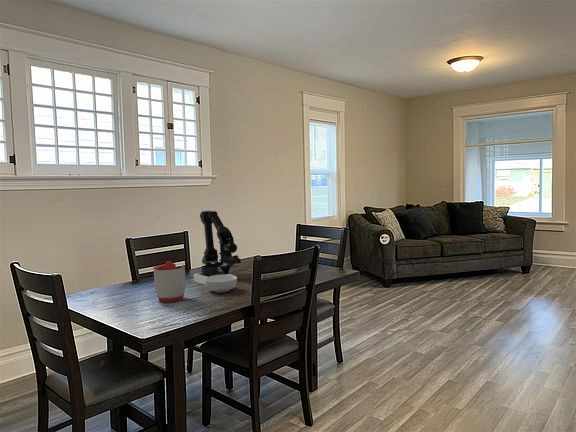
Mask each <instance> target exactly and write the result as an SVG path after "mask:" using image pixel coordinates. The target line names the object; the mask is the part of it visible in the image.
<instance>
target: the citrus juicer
mask: <svg viewBox="0 0 576 432" xmlns="http://www.w3.org/2000/svg"><path fill="white" fill-rule="evenodd" d="M185 266H186V265H185V264H181V266H180V267H177V265H176V263H174V262H172V261H171V260H167V261H166V262H165V263H164V264H158V265H156V266H153V268H152V269H153V277H154V278H153V281H154V289H155V293H156V296H157V299H158V300H159V302H163V303H164V302H165V303H173V302H177V301H180V300H183V298H184V296H185V291H186V269H185Z"/></svg>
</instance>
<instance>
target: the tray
mask: <svg viewBox="0 0 576 432" xmlns="http://www.w3.org/2000/svg"><path fill="white" fill-rule="evenodd" d="M227 275H233V274H232V273H228V274H227ZM206 278H207V276H203V275H202V272H198V273H193V281H194V283H198V284H201V285H205V286H206V283H205V279H206Z"/></svg>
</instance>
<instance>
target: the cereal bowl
mask: <svg viewBox="0 0 576 432" xmlns="http://www.w3.org/2000/svg"><path fill="white" fill-rule="evenodd" d="M205 283H206V285H205V286H206V288H207V289H209V290H210V291H211V292H214V293H218V294H219V293H222V294H223V293H228V292H229V291H230V290H232V289H234V288H235V287H236V285H237V283H238V277H237V276H236V275H234V274H232V275H227V274H224V273H223V274H220V275H219V274H218V275H214V276H210V277H207V278H206V279H205Z"/></svg>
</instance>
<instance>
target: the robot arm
mask: <svg viewBox="0 0 576 432" xmlns="http://www.w3.org/2000/svg"><path fill="white" fill-rule="evenodd" d="M199 218H200V221H201V223H202V225H203V228H204V238H205V250H204V251H203V254H204V255H203V257H202V259H201V262H202V264H204V265H210V267H216V268H217V267H218V268H220V270H221V271H222V273H223V275H224V274H230V270H231V268H232V267H233V266H234V265H237V264H241V263H242V261H241V258H240V257H239V255H238V254H236V255H232V254H234V253H236V252H237V251H238V246H237V244H236V243H235V242H234V241H235V240H234V236H233V234H232V231H230V229H229V228H228V227H226V226H225V225H224V224H223V222H222V220H221V218H220V216H219V214H218V211H216V210H202V211H201V213H199ZM213 225H214V227H215V229H216V236H217V238H218V240H219V241H218V243H219V253H218V250H217V249H216V248H215V245H214V236H213V235H214V234H213V232H214V231H213ZM219 256H220V259H219Z"/></svg>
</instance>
